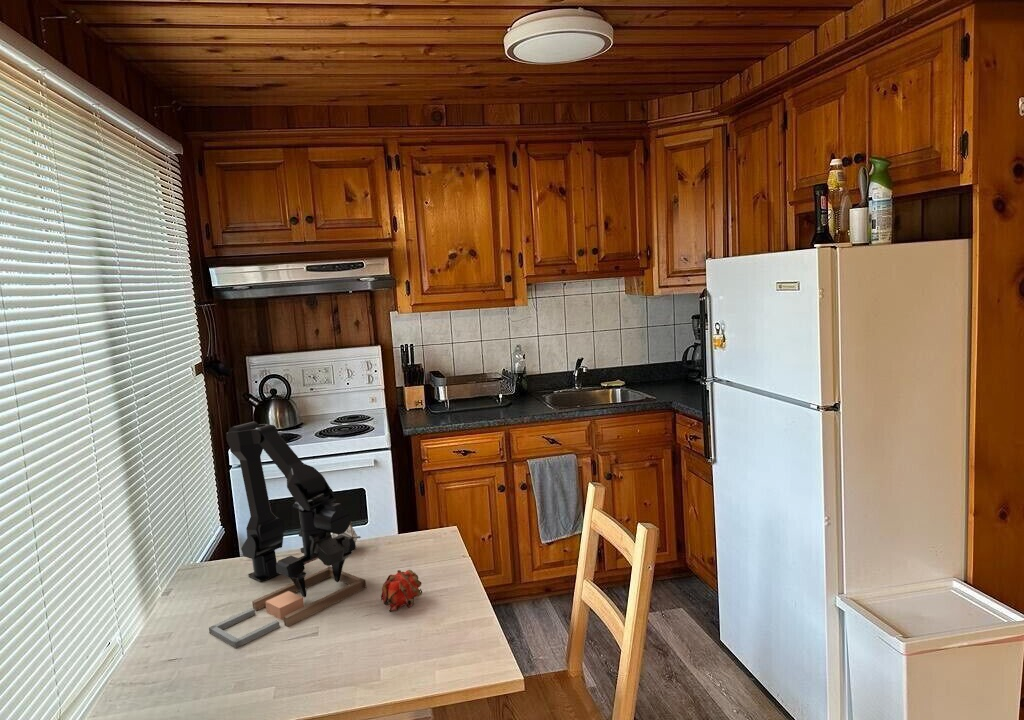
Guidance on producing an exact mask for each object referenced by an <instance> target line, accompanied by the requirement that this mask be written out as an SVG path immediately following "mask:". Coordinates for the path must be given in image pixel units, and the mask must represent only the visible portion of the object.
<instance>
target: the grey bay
mask: <svg viewBox="0 0 1024 720" xmlns="http://www.w3.org/2000/svg"><path fill="white" fill-rule="evenodd" d="M255 615H256V611H255V609H253V607H251V608H249V609H247V610H244V611H242V612H240V613H238V614H236V615H234V616H231V617H229V618H226V619H224V620H222V621H220V622H218V623H215V624H213V625H212V626H209V627H208V631H209V633H210V635H213V636H214V637H216V638H218V639H219V640H221V641H223V642H225V643H226V644H228V645H229V646H231V647H233V648H235V649H237V648H239V647H241V646H244V645H245V644H247V643H249V642H251V641H254V640H256V639H258V638H260V637H262V636H264V635H266V634H268V633H270V632H272V631H274V630H276V629H278V628H280V627H281V626H280V621H279V620H277V619H276V620H275V619H274V620H273V621H272V622H269V623H267V624H265V625H263V626H261V627H258V628H257V629H254V630H251V632H249V633H248V632H247V633H246V634H244V635H242V636H240V637H238V638H237V637H236V636H234V635H232V634H230V633H229V632H228V631H225V630H224V629H227V628H229V627H231V626H233V625H235V624H237V623H239V622H242V621H244V620H246V619H248V618H250V617H251V618H252V616H255Z"/></svg>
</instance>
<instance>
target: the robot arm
mask: <svg viewBox="0 0 1024 720" xmlns="http://www.w3.org/2000/svg"><path fill="white" fill-rule="evenodd" d="M225 438H226V442H227V444H228V446H229V450H230V452H231V453H232V454H233V456H235V457H236V459H237V460H238V461H239V465H240V468H241V469H240V470H241V474H242V479H243V483H244V484H243V486H244V490H245V494H246V499H247V505H248V509H249V514H250V517H249V519H248V523H247V525H246V537H247V538H246V539H245V541H244V543H243V544H242V546H241V548H240V550H241V552H242V556H243V557H245V558H248V559H251V562H252V568H253V569H252V570H253V571H252V572H251V573H248V577H250V578H251V579H253V580H255V581H257V582H262V583H263V582H264V581H267V580H269V579H272V578H274V577H276V576H279V575H281V576H284V577H286V578H289V579H290V580H291V581H292V583H294V584H295V585H296V587H297V589H298V590H299V591H298V592H299V593H300V596H301V597H303V599H304V598H307V588H306V586H305V580H304V578H305V577H306V575H307V572H305V571H304V570H305V565H306V564H309V563H312V562H313V561H316V560H320V562H322V563H323V565H325V566H327V567H332V570H333V575H334V578H335V579H334V578H333V579H334V581H335V582H336V583H339V582H340V581H339V580H340V576H341V572H342V571H343V566H344V564H345V561H346V559H347V558H348V557H349V556H350V555H353V551H355V550H357V544H356V542H357V541H356V542H355V540H354V539H353V538H350V537H347V536H344V535H339V536H337V537H334V538H332V536H331V533H334V534H343V533H344V532H345V531H346V530H347V529H348V527H349V525H350V523H351V515H350V513H349V512H348V510H347V509H345V508H343V507H342V505H343V504H342V503H339V502H334V501H336V500H337V498H336V496H335V494H334V493H335V492H334V490H333V489H332V488H331V487H330V486H329V483H328V482H327V480H326V478H325V477H324V475H323V474H321V472H320V471H318V470H317V469H316V468H315V467H313V466H311V465H309V464H306V463H304V462H303V461H302V460H301V458H299V456H298V455H297V454H296V453H295V451H294V450H293V449H292V448H291V446H289V444H288V443H287V442H286V441H285V439H284V438H283V437H282V436H281V435H280V434H279V431H278V428H277V427H276V426H275V425H274V424H268V423H262V424H261V423H260V424H259V423H258V422H257V421H249V422H247V423H246V422H245V423H242V424H238V425H233V426H231V427H229V430H228V432H226V437H225ZM263 451H264V452H265V453H266V454H267V456H268V457H269V459H271V461H272V462H273V463H274V464H275V465H276V467H277V468H278V469H279V471H280V472H281V473H282V474H283V475H284V476H285V478H286V488H287V489H288V491H289V493H290V495H291V496H292V498H293V499H294V500H295V502H294V503H293V504H292V508H294V509H298V515H299V522H300V530H299V531H298V532H297V533H298V536H299V537H301V541H302V546H303V547H301V548H300V553H302V554H303V555H302V556H301V557H296V556H294V555H289V556H286V557H283V558H281V559H279V560H278V561H277V554H276V550H278V549H281V548H283V542H284V535H285V530H284V526H283V523H282V522H283V520H282V519H281V518H280V517H277V516H276V515H275V514H274V513H273V512H272V509H271V504H270V499H269V495H268V489H267V484H266V479H265V478H266V477H265V475H264V469H263V464H262V463H263V462H262V459H261V455H262V453H263ZM323 495H324V496H323Z"/></svg>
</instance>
